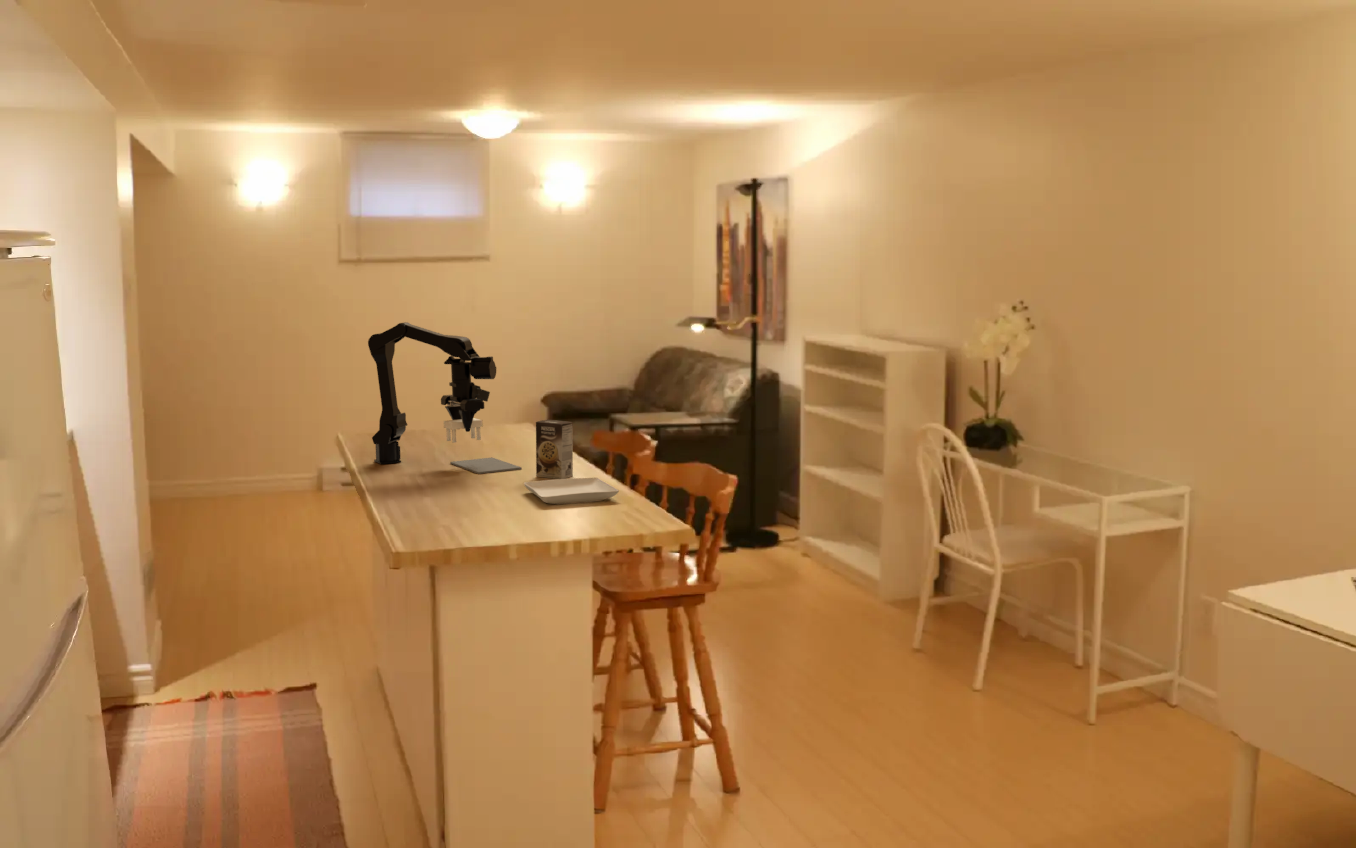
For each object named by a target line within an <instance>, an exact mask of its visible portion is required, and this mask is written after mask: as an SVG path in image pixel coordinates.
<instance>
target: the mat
mask: <svg viewBox="0 0 1356 848" xmlns="http://www.w3.org/2000/svg"><path fill="white" fill-rule="evenodd" d="M449 463H450V465H452V464H453V465H452V466H456V467H457V468H461V467H462V468H461V469H463V468H464V469H463V470H466V471H468V472H472V473H474V474H478V475H481V474H482V475H483V474H484V473H485V474H491V473H500V472H501V473H502V472H509V471H517V470H518V471H519V470H522V466H519V465H516V464H513V463H510V462H508V461H504V460H500V459H498V458H496V457H483V458H474V459H473V458H472V459H466V460H465V459H464V460H456V461H450V462H449Z"/></svg>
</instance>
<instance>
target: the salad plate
mask: <svg viewBox="0 0 1356 848" xmlns="http://www.w3.org/2000/svg"><path fill="white" fill-rule="evenodd" d="M523 485H524V487H525V488H526V489H527V490H528V491H530V492H531V493H532V494H534V495H535V496H536V497H538V498H539V499H540V500H541V501H542V502H544V503H545V504H546V503H547V504H549V505H563V504H565V505H566V504H567V505H568V504H580V503H592V502H594V503H595V502H601V501H604V500H608V499H611V498H613V497H615V496H616V495H618V493H619V492H620V490H619V489H617V488H616V487H615V486H613V485H611V484H609V483H608V482H606V481H604V480H602V479H601V478H599V477H594V476H593V477H577V478H576V477H573V478H572V477H569V478H565V479H544V480H536V481H535V480H534V481H533V480H532V481H524V482H523Z"/></svg>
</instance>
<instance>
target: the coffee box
mask: <svg viewBox="0 0 1356 848" xmlns="http://www.w3.org/2000/svg"><path fill="white" fill-rule="evenodd" d="M573 431H574V422H573V421H567V420H566V421H565V420H556V419H544V420H539V421H537V420H536V422H535V458H536V459H535V467H536V468H535V472H536V473H535V476H536V477H538V478H539V477H541V478H547V479H553V480H555V479H569V478H572V477H573V473H574V472H573V471H574V469H573V468H574V463H573V461H574V460H573V458H574V457H573V455H574V454H573V452H574V450H573V449H574V447H573V446H574V444H573V441H574V439H573V434H574V432H573Z"/></svg>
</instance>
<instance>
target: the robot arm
mask: <svg viewBox="0 0 1356 848" xmlns="http://www.w3.org/2000/svg"><path fill="white" fill-rule="evenodd" d="M404 338H408V339H411V340H414V341H418V342H420V343H424V344H427V345H429V346H433V347H436V348H438V349H440V350H442V351H443V353H446V354H447V355H449V356H448V358H447V359H446V360H445V361H444V362H443V364H444V365H450V370H451V375H450V376H451V381H450V382H449V383H448V385H449V387H451V394H443V395H442V396H441V398H440V405H441V406H444V409H446V411H447V413H448V414H449V416H450V418H451V420H459V419H462V422H463V425H464V428H465V429H464V430H465V432H466V433H468V432H469V433H470V432H471V425H472V421H473V418H475V417H474V416H476V414H477V412H479V411H481V410H485V402H486V403H487V402H488V401H489V397H490V395H491V394H490V393H491V391H488V390H485V389H483V388H481V386H480V385H476V384H475V383H474V382H472V377H473V379H474V380H495V378H496V376H497V366H496V363H495V361H494V357H493V356H490V355H489V356H482V357H481V356H480V355H479V354H478V352H477V351H476V350H475V349H474V347H473V343H472V341H471V338H469V337H466V336H463V335H462V336H460V335H451V334H450V335H449V334H442V333H440V332H436V331H433V330H431V329H427V328H424V327H421V326H419V325H414V324H412V323H410V322H408V321H407V322H406V321H405V322H404V321H403V322H399V323H397V324H396V325H394V326H393V327H391V328H389V329H387V330H385V331H383V332H379V333H375V334H372V335H371V336H370V337H369V338H368V341H367V346H368V350H369V353H370V355H371V358H372V359H373V360H374V362H375V364H376V373H377V380H378V387H379V394H380V395H379V396H380V403H381V413H380V417H379V420H378V421H379V424H378V425H379V426H378V427H379V429H378V431H377V432H376V433H375V434H374V435H372V437H371V440H372V442H373V444H374V445H375V459H374V460H373V462H375V463H378V464H379V465H386V464H387V465H388V464H394V463H395V464H397V463H402V460H401V446H400V445H399V444H400V443H399V441H400V440H401V436H402V435H403V434H404V433H405V432H406V428H407V426H408V422H407V419H406V416H407V415H406V412H401V411H400V409H399V407H398V399H397V392H396V384H395V383H396V381H395V375H394V368H393V367H394V366H393V358H394V355H395V351H396V348H395V347H396V344H397V343H399V342H401V341H402V340H403V339H404Z"/></svg>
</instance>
